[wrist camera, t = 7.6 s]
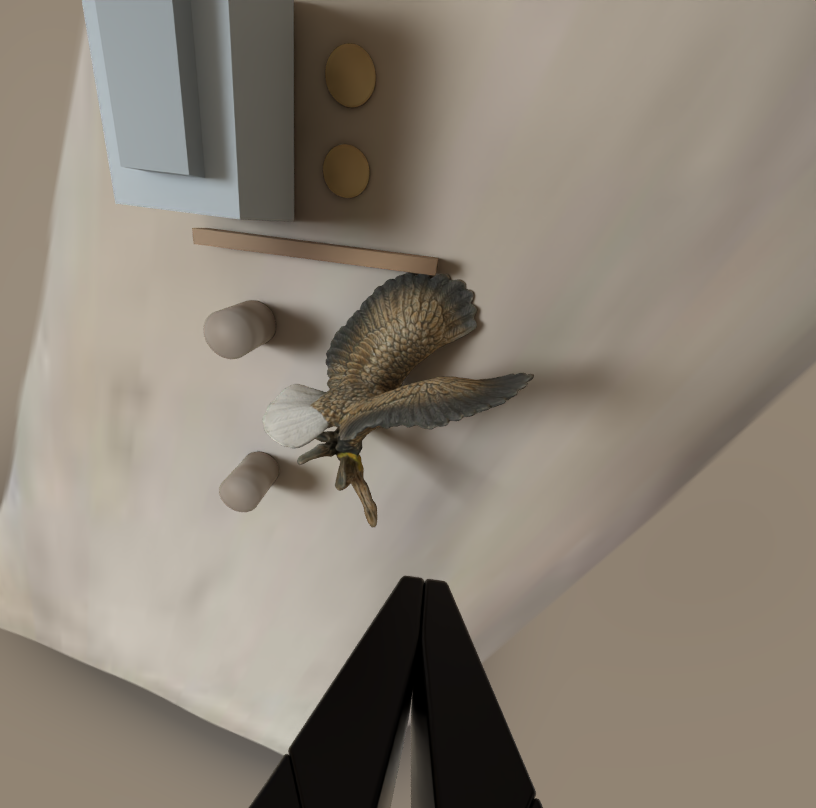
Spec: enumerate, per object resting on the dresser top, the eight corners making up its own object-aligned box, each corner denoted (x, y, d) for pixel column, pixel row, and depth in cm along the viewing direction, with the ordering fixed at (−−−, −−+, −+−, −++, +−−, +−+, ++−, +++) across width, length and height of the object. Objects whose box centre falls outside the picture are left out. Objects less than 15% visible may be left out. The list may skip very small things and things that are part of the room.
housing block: (293, -6, 14) (202, -137, 9) (294, 221, 16) (225, 218, 12) (179, -17, 14) (29, -150, 9) (199, 209, 17) (94, 202, 12)
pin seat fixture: (465, 56, 14) (467, 23, 12) (404, 506, 22) (398, 538, 20) (189, 28, 14) (139, -8, 12) (227, 477, 22) (201, 505, 20)
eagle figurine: (427, 500, 20) (567, 383, 15) (314, 559, 15) (475, 406, 10) (351, 384, 23) (450, 252, 18) (228, 398, 17) (324, 211, 12)
